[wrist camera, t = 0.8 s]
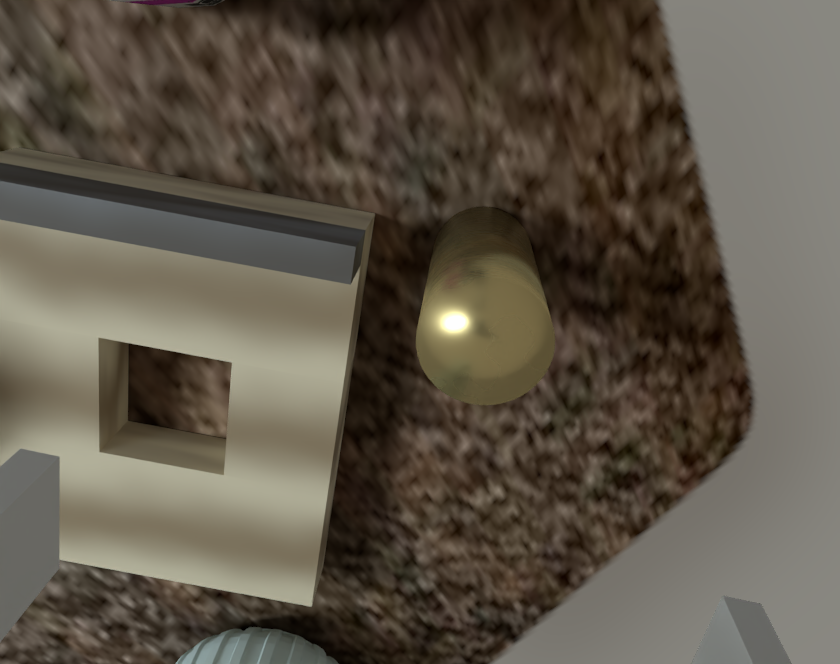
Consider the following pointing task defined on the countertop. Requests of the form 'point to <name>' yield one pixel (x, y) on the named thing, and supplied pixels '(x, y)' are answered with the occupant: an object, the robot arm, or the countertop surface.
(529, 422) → the countertop surface
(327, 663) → the vase
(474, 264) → the brass cylinder
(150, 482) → the jig
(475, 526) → the countertop surface
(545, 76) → the countertop surface
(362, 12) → the countertop surface
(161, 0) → the supplement can
